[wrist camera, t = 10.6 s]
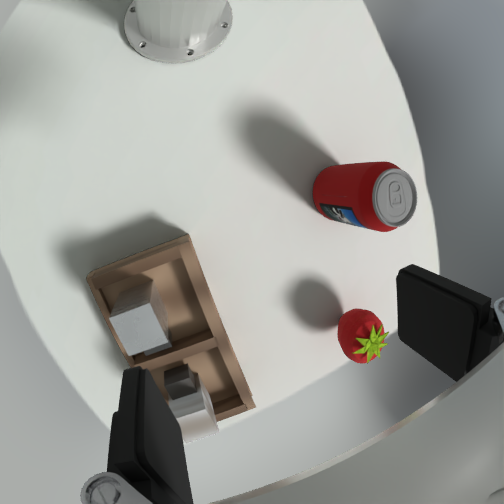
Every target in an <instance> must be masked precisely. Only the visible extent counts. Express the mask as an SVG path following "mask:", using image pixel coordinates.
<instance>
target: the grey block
mask: <svg viewBox="0 0 504 504" xmlns="http://www.w3.org/2000/svg"><path fill="white" fill-rule="evenodd" d="M109 320H110V322H111V324H112V326H113V328H114V330H115V331H116V333H117V335H118V337H119V339H120V341H121V343H122V345H123V346H124V348H125V350H126V352H127V354H128V356H131V355H134V354H137V353H140V352H142V351H143V352H144V353H145V355H146V356H147V355H150V354H153V353H156V352H158V351H161V350H164V349H167V348H170V347H172V333H171V331H170V329H169V327H168V312H167V310H166V307H165V305H164V303H163V301H162V298H161V296H160V294H159V292H158V289H157V287H156V285H155V282H154V280H151V281H148V282H146V283H143V284H140V285H138V286H135V287H133V288H130V289H127V290H125V291H122V292H120V293H119V296H118V298H117V300H116V302H115V305H114V307H113V309H112V312H111V314H110V317H109Z"/></svg>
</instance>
